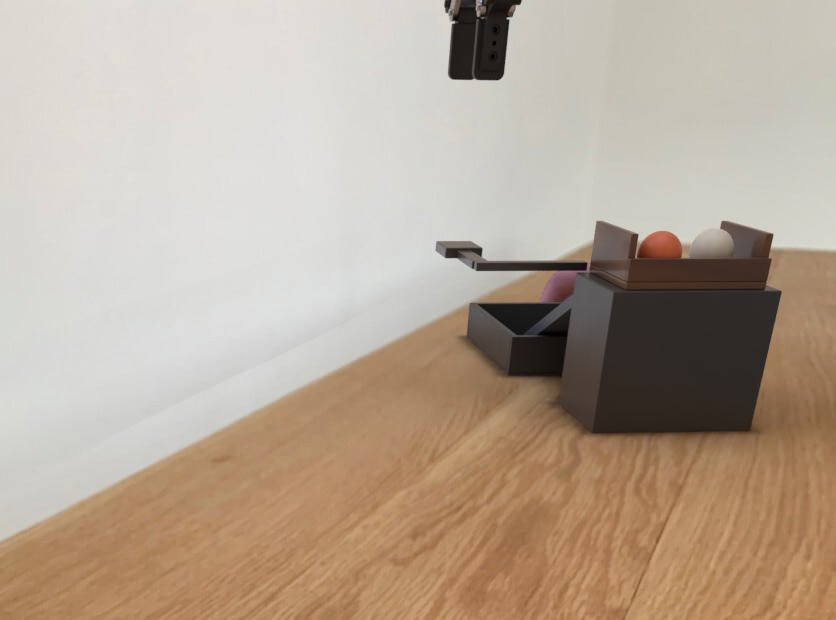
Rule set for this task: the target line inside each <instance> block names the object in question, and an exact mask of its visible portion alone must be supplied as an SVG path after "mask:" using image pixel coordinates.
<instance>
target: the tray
mask: <svg viewBox="0 0 836 620" xmlns="http://www.w3.org/2000/svg"><path fill="white" fill-rule="evenodd" d="M561 303H563V302H539V301H535V302H534V301H530V302H523V301H522V302H521V301H519V302H469V306H468V316H467V328H466V339H467V340H469V342H470V343H472V344H473V345H474V346H475V347H476V348H477V349H478V350H479V351H480V352H482V353H483V355H485V356H486V357H487V358H488V359H489V360H490V362H492V363H494V365H496V367H498V368H499V369H500V370H501V371H502V372H503V373H504V374H505V375H507V376H508V377H515V376H516V377H517V376H519V377H520V376H523V377H526V376H529V377H531V376H562V374H563V366H564V359H565V352H566V344H567V337H568V335H523V334H524V333H526V332H527V331H528V330H529V329H531V328H532V327H533V326H534V325H536V324H537V323H538V322H539V321H540V320H542V319H543V318H544V317H545V316H547V315H548V314H549V313H550V312H552V311H553V310H554V309H555V308H556V307H558V306H559V305H560V304H561Z"/></svg>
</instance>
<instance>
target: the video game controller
mask: <svg viewBox="0 0 836 620" xmlns="http://www.w3.org/2000/svg"><path fill="white" fill-rule="evenodd" d="M590 263H591V262H588V264H587V270H586V271H554V272H553V273H552V274H551V275H550V276H549V277H548V280H547V281H546V283H545V285H544V288H543V290H542V292H541V295H540V297H539V301H538V302H564V301H565V300H566V299H568V298H569V297H570V296H571V295H573V293H574V285H575V278H576V273H577V272H589V270H590Z"/></svg>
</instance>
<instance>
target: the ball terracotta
mask: <svg viewBox="0 0 836 620" xmlns="http://www.w3.org/2000/svg"><path fill="white" fill-rule="evenodd" d="M636 258H683V245H682V241H681V240H680V239H679V237H678V236H677V235H676V234H674V233H673V232H670V231H669V230H657V231H654V232H652V233H650V234H648V235H647V236H646V237H645V238H644V239H643V240H642V241H641V243H640V245H639V247H638V248H637V251H636Z"/></svg>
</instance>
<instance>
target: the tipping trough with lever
mask: <svg viewBox="0 0 836 620" xmlns="http://www.w3.org/2000/svg"><path fill="white" fill-rule="evenodd" d="M719 229H723V230H725V231H726V232H728V233H729V234H730V236H731V237H732V239H733V242H734V254H733V257H732V258H689V257H681V258H637V257H636V255H637V249H638V248H637V247H638V241H639V233H637V232H634V231H631V230H629V229H626V228H624V227H621V226H618V225H616V224H612V223H609V222H606V221H604V220H596V222H595V228H594V235H593V243H592V249H591V250H592V251H591V255H590V256H591V257H590V262H588V261H586V260H584V259H583V260H578V259H577V260H576V259H574V260H572V259H571V260H561V259H560V260H487V259H485V258H484V257H483V247H482V246H481V245H479V244H476V243H475V242H473V241H472V240H437V241H435V252H436V253H438V254H439V255H440V256H442V257H443V258H445V259H457V260H458V261H460V262H462V263H463V264H464V265H466V266H467V267H468V268H470V269H472V270H474V271H475V272H556V271H586V270H587V264H588V263H590V270H589V272H591V273H593V274H595V275H597V276H599V277H601V278H603V279H605V280H607V281H609V282H611V283H613V284H615V285H617V286H619V287H621V288H623V289H625V290H729V289H765V288H766V285H767V283H768V279H769V275H770V271H771V270H770V269H771V265H772V261H773V258H771V257H770V253H771V249H772V245H773V240H774V233H773V232H769V231H767V230H766V231H765V230H762V229H758V228H754V227H751V226H749V225H748V226H747V225H744V224H740V223H737V222H733V221H729V220H721V221H720V226H719Z"/></svg>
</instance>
